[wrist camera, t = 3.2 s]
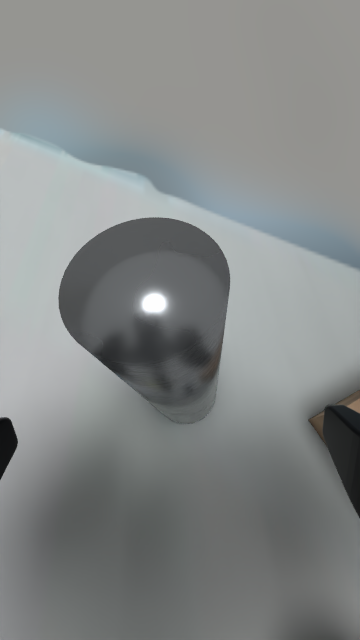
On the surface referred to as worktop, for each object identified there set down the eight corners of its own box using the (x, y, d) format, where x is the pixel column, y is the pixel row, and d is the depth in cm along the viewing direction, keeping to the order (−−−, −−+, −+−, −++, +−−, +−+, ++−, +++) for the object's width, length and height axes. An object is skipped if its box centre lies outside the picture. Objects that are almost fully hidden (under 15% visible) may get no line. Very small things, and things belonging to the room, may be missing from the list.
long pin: (172, 435, 16) (86, 398, 5) (147, 379, 18) (42, 256, 7) (226, 405, 17) (266, 307, 5) (198, 354, 19) (181, 197, 7)
